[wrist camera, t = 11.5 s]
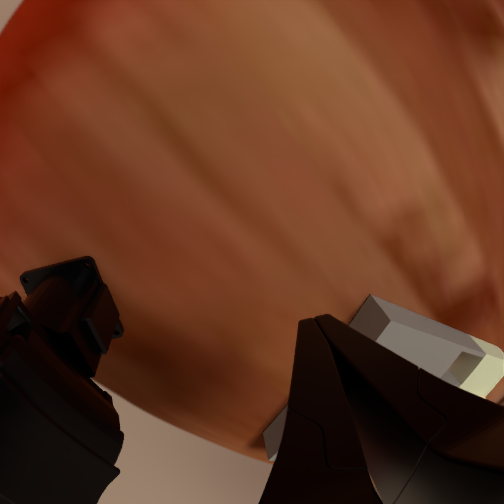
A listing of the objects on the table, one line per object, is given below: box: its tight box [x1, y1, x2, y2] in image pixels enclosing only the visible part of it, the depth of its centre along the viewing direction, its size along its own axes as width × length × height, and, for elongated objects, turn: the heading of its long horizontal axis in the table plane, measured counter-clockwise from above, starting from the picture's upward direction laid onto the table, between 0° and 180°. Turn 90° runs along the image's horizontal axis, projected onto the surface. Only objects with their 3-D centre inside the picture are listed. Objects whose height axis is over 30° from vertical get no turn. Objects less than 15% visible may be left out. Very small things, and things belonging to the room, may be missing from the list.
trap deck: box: [263, 294, 504, 461], centre depth 29 cm, size 25×18×4 cm
